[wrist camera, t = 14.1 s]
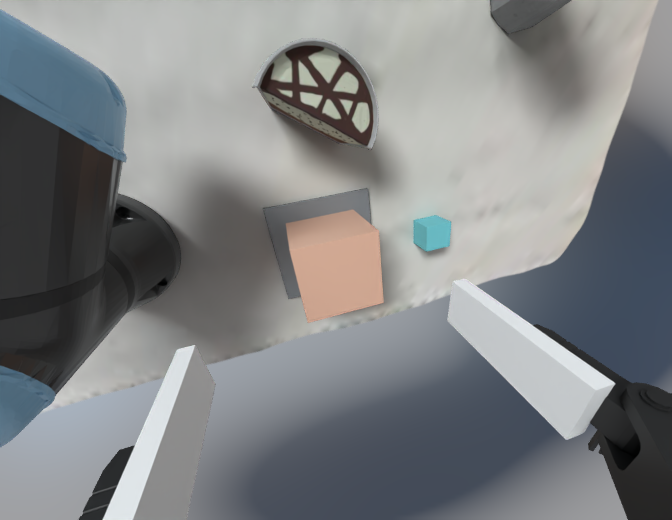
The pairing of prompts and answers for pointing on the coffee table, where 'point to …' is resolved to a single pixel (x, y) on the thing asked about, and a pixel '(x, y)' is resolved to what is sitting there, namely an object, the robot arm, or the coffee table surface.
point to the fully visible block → (432, 233)
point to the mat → (307, 210)
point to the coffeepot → (522, 12)
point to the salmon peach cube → (336, 263)
